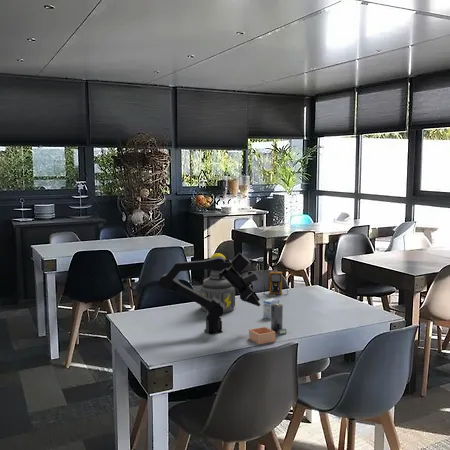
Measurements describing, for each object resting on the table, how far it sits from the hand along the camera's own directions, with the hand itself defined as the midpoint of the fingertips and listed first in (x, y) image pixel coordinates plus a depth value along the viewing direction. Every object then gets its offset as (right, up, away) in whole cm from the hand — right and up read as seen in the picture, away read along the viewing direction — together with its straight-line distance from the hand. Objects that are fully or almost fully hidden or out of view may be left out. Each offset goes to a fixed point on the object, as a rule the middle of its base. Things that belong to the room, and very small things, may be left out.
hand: (259, 302), depth 222 cm
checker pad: (+8, -13, +1) cm, 16 cm away
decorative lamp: (-19, -10, +41) cm, 46 cm away
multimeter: (+15, -7, +71) cm, 73 cm away
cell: (+8, -13, +1) cm, 15 cm away
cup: (0, -15, -11) cm, 18 cm away
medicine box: (+8, -11, +26) cm, 29 cm away
